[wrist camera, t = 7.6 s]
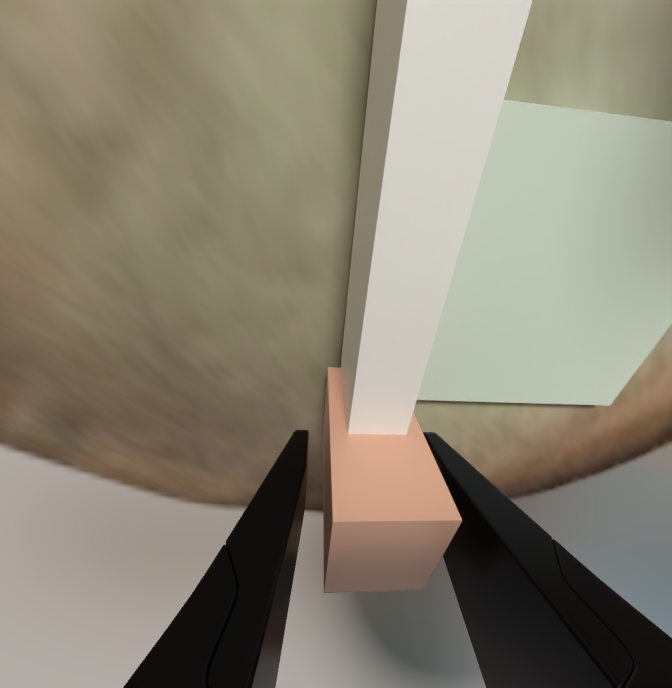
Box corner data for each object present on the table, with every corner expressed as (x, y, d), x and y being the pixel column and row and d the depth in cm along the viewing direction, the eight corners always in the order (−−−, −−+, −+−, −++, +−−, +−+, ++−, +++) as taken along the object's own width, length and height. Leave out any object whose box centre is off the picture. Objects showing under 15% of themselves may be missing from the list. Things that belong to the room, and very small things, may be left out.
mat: (401, 393, 10) (404, 399, 10) (473, 103, 6) (483, 97, 6) (600, 399, 11) (609, 405, 11) (786, 143, 7) (812, 138, 6)
